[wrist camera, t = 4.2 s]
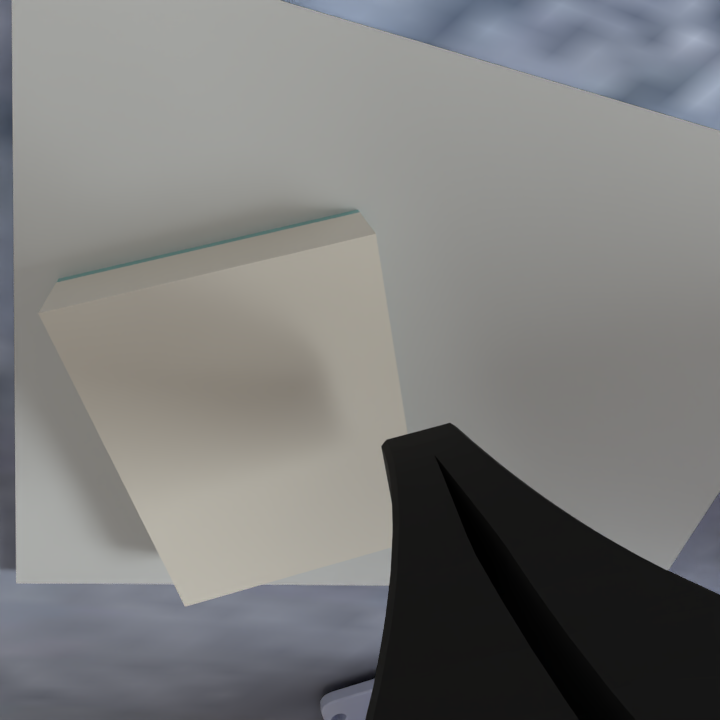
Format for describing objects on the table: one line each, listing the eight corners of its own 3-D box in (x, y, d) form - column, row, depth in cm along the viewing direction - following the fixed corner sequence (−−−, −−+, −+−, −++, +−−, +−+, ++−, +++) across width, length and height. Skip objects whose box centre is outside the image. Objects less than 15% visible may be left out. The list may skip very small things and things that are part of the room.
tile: (423, 537, 15) (185, 606, 14) (406, 494, 16) (187, 555, 16) (375, 233, 11) (38, 313, 10) (358, 209, 12) (58, 278, 12)
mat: (901, 185, 15) (916, 189, 15) (650, 577, 21) (657, 587, 21) (18, -77, 9) (10, -80, 9) (20, 570, 15) (16, 583, 15)
